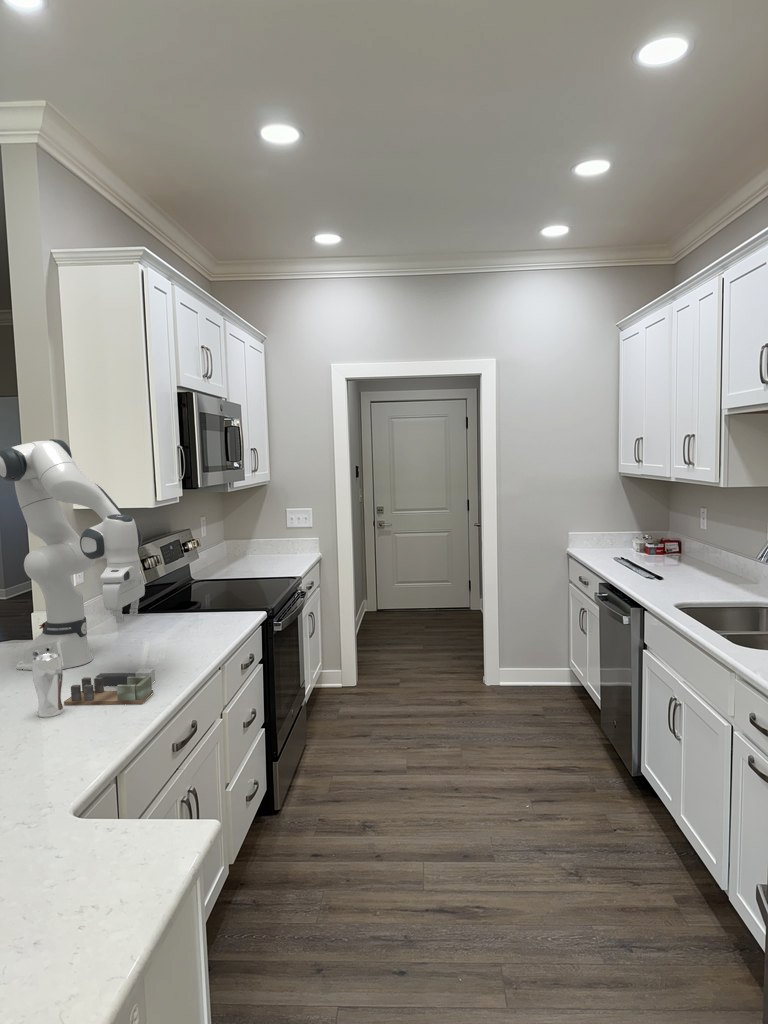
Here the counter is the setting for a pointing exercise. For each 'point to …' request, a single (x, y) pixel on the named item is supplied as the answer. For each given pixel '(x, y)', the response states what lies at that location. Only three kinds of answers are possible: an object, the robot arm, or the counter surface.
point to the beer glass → (48, 683)
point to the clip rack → (110, 692)
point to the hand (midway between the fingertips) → (127, 618)
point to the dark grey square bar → (125, 677)
